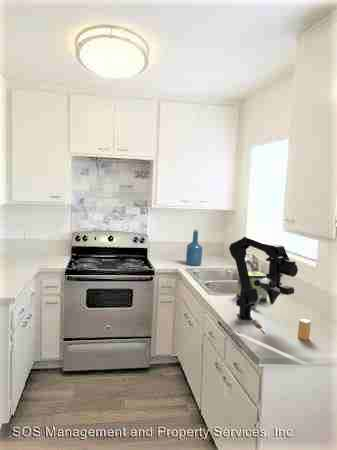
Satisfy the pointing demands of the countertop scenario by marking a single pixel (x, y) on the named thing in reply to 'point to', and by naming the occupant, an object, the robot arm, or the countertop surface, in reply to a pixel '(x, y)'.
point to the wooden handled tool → (257, 325)
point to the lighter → (257, 302)
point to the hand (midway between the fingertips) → (271, 304)
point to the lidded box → (304, 329)
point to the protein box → (253, 277)
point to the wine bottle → (194, 251)
